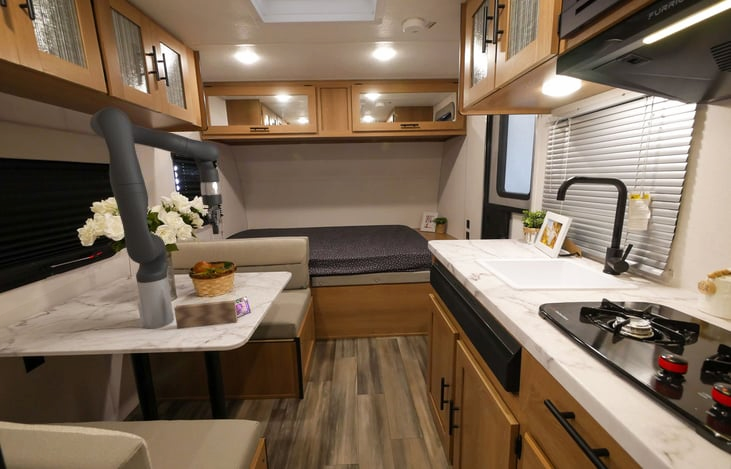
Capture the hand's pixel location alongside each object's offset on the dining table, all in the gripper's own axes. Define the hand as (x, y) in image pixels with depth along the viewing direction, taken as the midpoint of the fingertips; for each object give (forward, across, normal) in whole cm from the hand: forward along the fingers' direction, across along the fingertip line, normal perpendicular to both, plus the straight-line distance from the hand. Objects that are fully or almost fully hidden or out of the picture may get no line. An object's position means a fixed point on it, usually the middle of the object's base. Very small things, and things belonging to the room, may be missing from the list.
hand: (216, 234), depth 133 cm
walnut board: (+29, +26, 0) cm, 39 cm away
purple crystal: (+29, +20, +10) cm, 37 cm away
